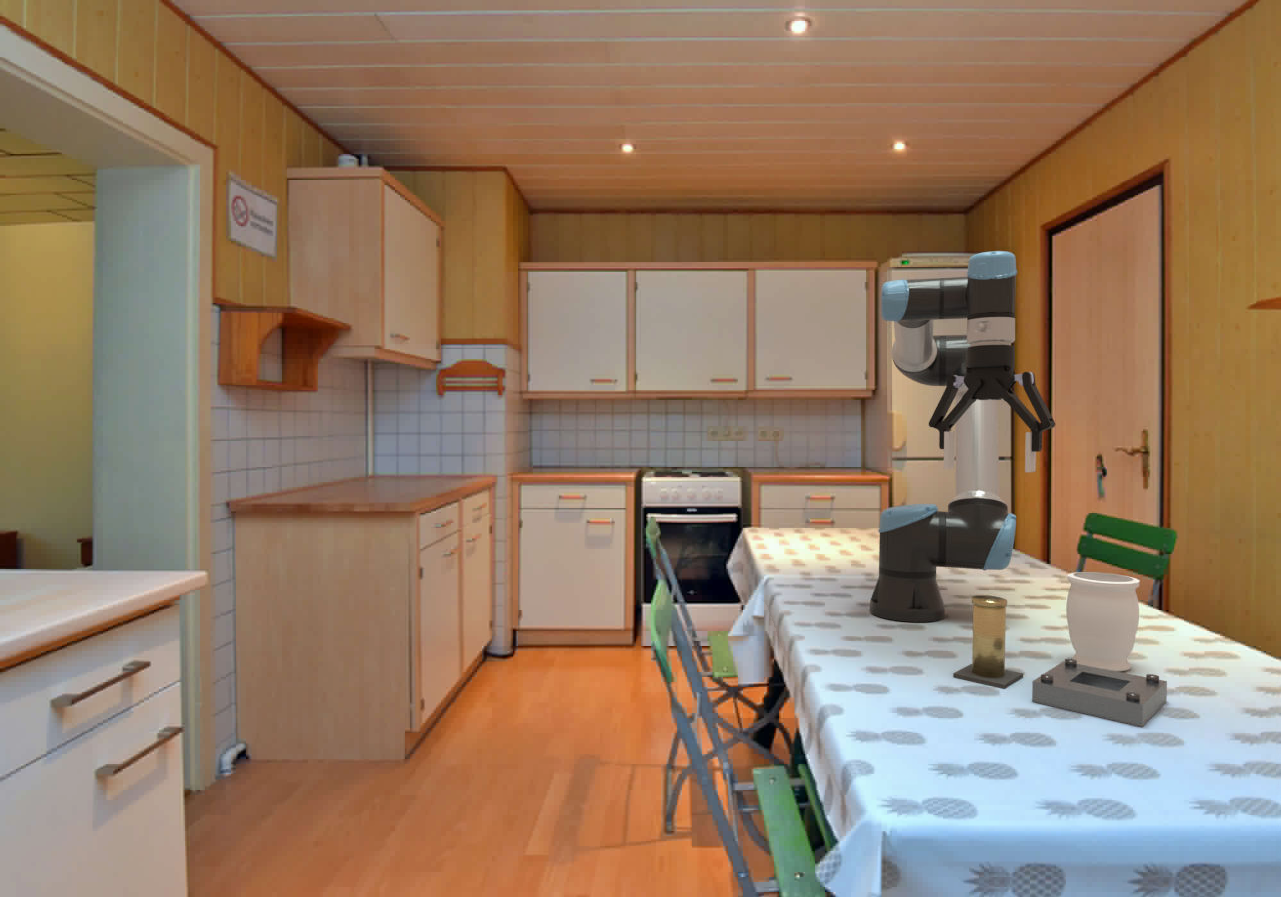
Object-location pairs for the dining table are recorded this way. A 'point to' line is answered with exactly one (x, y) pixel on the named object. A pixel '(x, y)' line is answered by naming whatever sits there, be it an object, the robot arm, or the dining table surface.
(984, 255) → the robot arm
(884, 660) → the dining table surface
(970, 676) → the mat
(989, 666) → the brass-coloured knob
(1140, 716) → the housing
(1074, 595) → the jar
